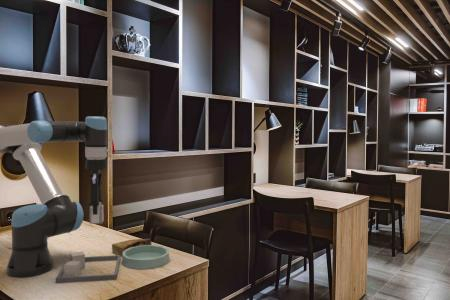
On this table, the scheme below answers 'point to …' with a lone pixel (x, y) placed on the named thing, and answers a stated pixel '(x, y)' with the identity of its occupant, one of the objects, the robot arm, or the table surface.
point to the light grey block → (72, 269)
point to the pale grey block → (78, 258)
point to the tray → (91, 277)
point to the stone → (128, 245)
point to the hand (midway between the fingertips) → (96, 221)
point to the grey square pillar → (101, 214)
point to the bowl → (145, 257)
